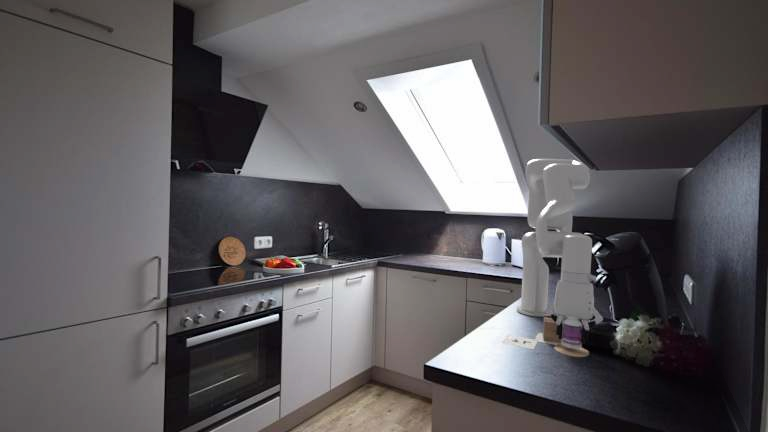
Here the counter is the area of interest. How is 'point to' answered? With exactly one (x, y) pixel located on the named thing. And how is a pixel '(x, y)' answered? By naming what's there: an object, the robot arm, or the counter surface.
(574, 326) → the pill bottle
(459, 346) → the counter surface
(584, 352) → the cork coaster
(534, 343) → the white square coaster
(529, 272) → the robot arm
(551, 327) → the walnut block
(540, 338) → the tile block
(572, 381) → the counter surface
